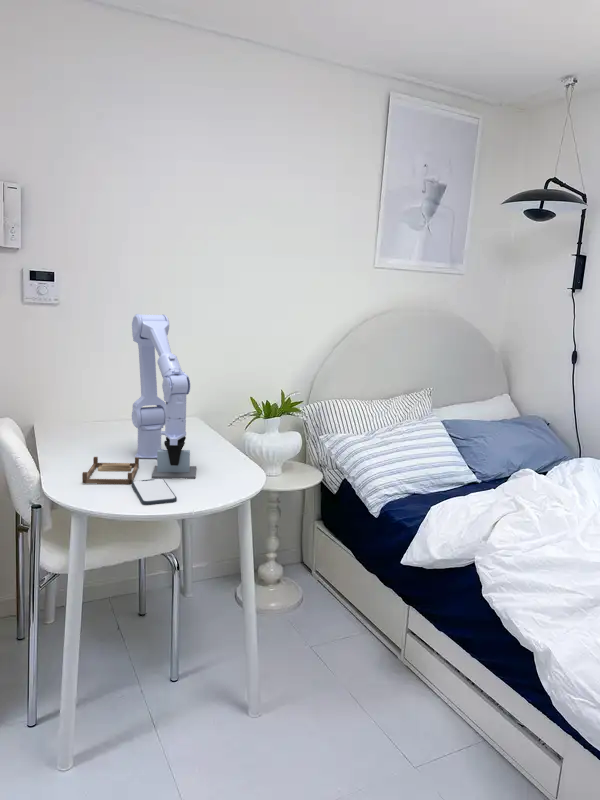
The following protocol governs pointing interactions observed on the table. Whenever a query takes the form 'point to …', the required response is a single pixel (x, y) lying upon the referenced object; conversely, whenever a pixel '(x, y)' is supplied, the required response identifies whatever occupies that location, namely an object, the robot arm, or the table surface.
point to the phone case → (153, 492)
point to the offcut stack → (115, 467)
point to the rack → (109, 481)
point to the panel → (165, 466)
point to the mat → (175, 474)
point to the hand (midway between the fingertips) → (174, 463)
